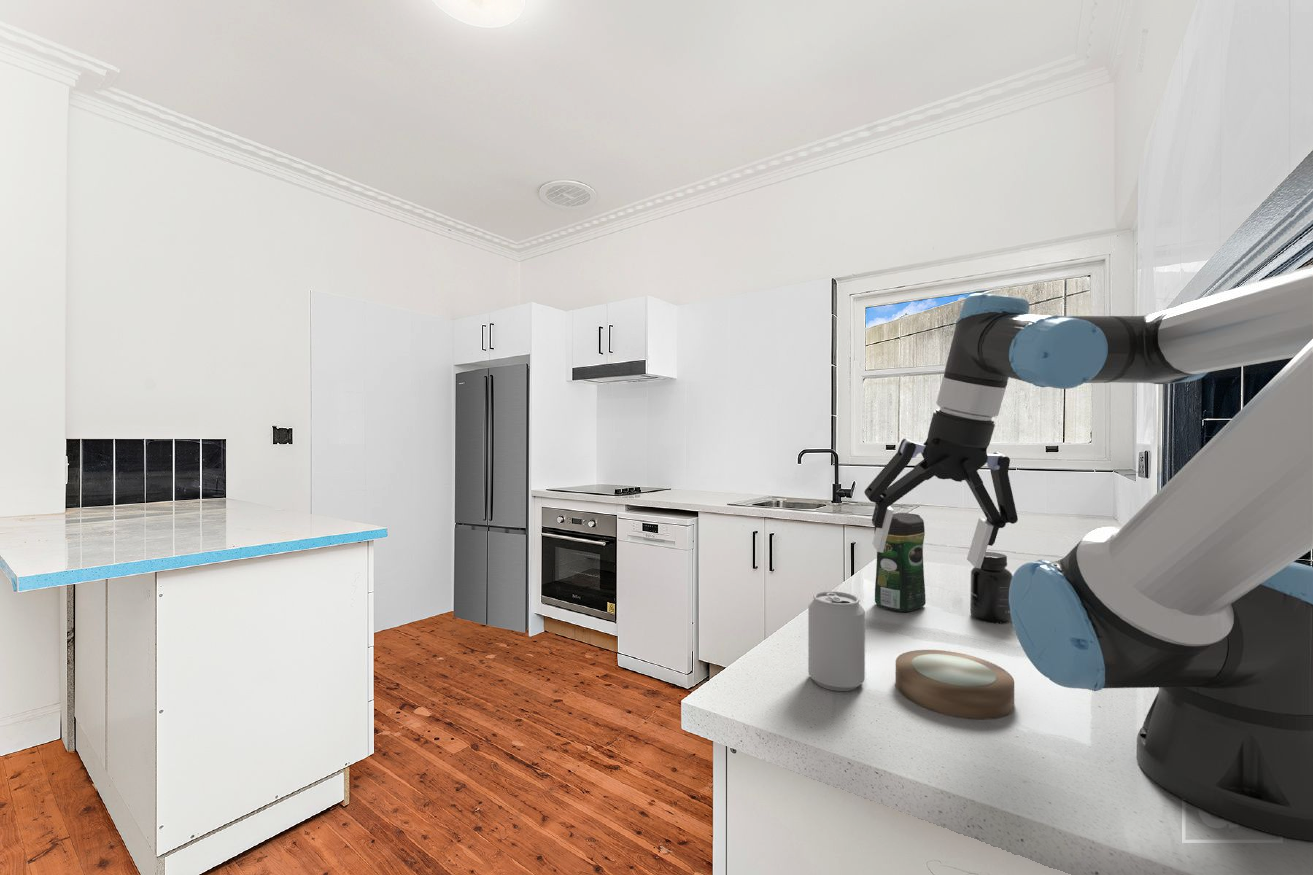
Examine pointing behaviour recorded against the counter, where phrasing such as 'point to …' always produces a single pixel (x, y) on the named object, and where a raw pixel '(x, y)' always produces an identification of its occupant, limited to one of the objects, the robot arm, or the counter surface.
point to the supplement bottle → (991, 590)
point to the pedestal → (955, 684)
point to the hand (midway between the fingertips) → (925, 556)
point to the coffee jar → (901, 565)
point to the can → (836, 640)
